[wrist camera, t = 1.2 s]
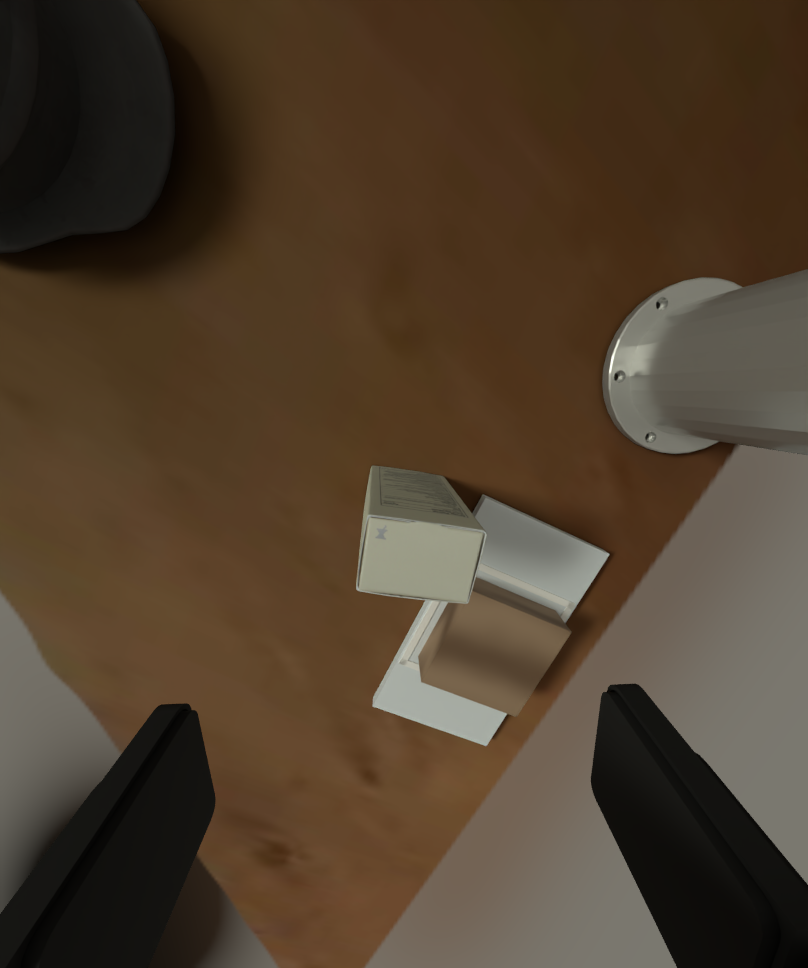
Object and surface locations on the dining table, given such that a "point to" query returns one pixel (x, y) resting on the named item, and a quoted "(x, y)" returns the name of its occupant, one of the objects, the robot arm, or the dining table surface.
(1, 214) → the casserole
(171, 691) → the dining table surface
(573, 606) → the white board
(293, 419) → the dining table surface
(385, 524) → the skincare box
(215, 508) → the dining table surface
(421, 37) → the dining table surface
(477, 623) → the walnut plinth
